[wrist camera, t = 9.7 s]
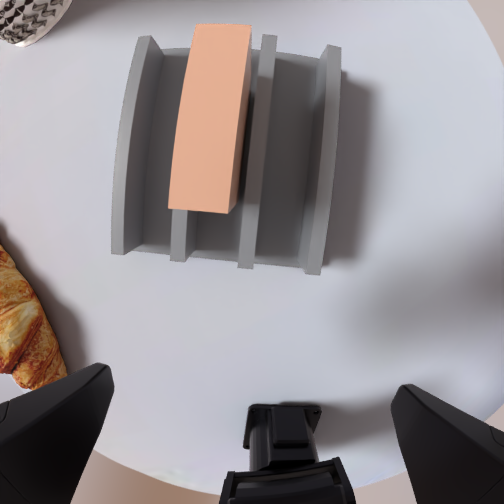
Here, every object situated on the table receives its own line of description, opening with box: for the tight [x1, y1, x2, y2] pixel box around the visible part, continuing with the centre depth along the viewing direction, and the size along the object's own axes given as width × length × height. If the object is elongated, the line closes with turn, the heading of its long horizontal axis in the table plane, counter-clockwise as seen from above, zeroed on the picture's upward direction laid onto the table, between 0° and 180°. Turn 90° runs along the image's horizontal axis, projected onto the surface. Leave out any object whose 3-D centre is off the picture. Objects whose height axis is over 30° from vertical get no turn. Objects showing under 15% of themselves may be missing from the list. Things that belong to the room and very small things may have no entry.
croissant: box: [0, 245, 67, 390], centre depth 17 cm, size 21×10×8 cm, turn 22°
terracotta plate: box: [168, 24, 251, 214], centre depth 12 cm, size 7×2×8 cm, turn 174°
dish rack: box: [111, 34, 341, 275], centre depth 15 cm, size 14×13×4 cm
